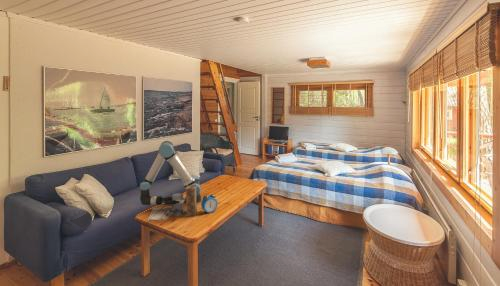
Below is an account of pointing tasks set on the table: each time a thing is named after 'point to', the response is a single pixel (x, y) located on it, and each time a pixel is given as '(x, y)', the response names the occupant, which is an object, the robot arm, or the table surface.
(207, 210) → the alarm clock
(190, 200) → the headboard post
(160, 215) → the table surface
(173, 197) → the rail end
